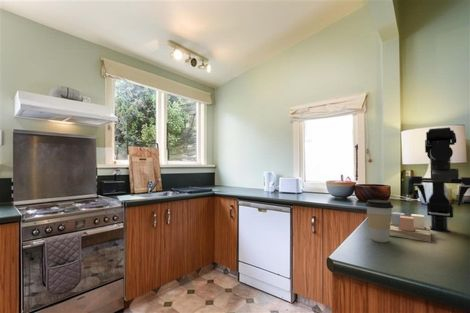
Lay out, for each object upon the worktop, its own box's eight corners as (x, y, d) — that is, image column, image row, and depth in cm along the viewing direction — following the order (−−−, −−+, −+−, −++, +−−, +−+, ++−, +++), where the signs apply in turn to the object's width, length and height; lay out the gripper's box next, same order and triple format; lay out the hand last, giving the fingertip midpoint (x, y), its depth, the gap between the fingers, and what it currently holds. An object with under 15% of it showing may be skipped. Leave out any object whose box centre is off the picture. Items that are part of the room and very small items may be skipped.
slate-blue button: (392, 223, 111) (392, 212, 111) (404, 224, 108) (404, 213, 108) (391, 224, 107) (391, 213, 108) (404, 226, 104) (403, 214, 105)
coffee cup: (368, 235, 100) (367, 198, 100) (395, 239, 94) (394, 200, 94) (363, 240, 92) (362, 201, 93) (392, 245, 86) (391, 203, 87)
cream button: (411, 225, 106) (411, 213, 107) (424, 226, 104) (424, 215, 104) (411, 227, 103) (410, 215, 103) (424, 228, 100) (424, 216, 100)
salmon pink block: (400, 227, 102) (400, 215, 103) (413, 229, 100) (413, 217, 100) (399, 229, 99) (399, 217, 99) (413, 231, 96) (413, 218, 96)
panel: (389, 227, 113) (388, 222, 113) (430, 232, 104) (429, 227, 104) (384, 234, 101) (384, 228, 101) (430, 241, 91) (430, 235, 91)
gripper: (408, 161, 88) (409, 204, 87) (479, 160, 77) (482, 210, 76) (409, 162, 97) (410, 201, 96) (474, 161, 85) (476, 205, 85)
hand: (441, 204), depth 88 cm, fingers open, 9 cm apart
